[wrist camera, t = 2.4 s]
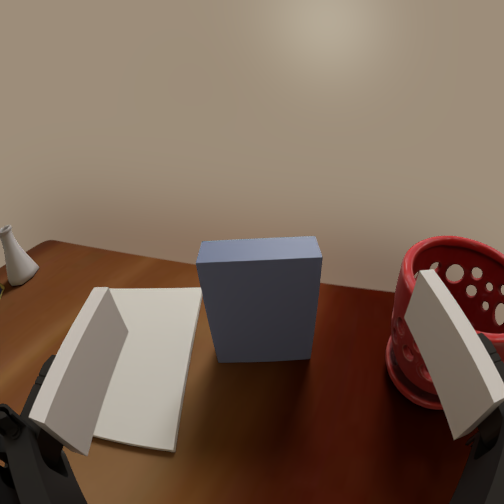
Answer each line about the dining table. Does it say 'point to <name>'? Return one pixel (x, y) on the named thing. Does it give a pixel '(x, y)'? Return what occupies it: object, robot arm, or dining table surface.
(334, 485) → the dining table surface
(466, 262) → the plant pot
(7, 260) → the flask
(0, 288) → the decorative box
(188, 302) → the mat
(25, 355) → the dining table surface
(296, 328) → the book
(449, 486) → the dining table surface
